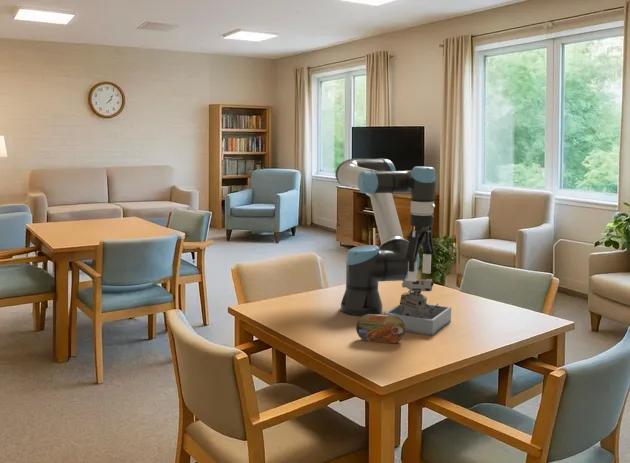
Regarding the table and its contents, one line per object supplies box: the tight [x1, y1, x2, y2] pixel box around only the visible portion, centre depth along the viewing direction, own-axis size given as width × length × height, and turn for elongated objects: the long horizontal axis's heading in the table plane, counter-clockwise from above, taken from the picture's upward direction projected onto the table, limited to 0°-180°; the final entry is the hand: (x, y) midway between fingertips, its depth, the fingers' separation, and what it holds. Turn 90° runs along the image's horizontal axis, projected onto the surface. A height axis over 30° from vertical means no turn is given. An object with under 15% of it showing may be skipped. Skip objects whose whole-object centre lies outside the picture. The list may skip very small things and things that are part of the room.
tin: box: [355, 314, 406, 344], centre depth 194 cm, size 15×3×8 cm, turn 77°
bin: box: [384, 303, 452, 337], centre depth 212 cm, size 17×19×5 cm
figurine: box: [398, 278, 439, 318], centre depth 211 cm, size 9×12×15 cm
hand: (419, 277), depth 210 cm, fingers open, 13 cm apart
